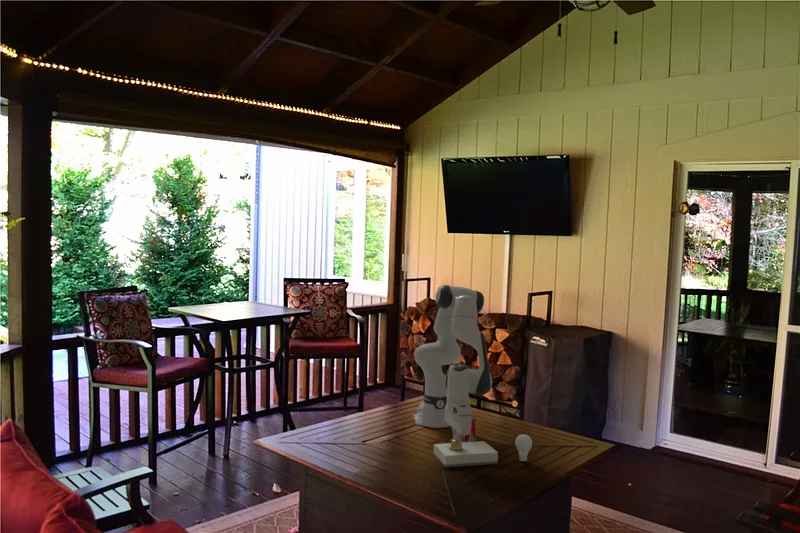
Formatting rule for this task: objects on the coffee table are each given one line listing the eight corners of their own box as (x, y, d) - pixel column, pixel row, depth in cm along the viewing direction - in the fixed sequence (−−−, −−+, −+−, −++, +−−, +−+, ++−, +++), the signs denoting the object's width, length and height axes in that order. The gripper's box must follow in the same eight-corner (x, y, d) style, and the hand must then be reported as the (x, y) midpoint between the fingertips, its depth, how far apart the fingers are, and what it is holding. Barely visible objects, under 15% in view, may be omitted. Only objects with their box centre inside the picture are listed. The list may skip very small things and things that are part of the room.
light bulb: (511, 459, 254) (512, 432, 253) (525, 458, 256) (526, 431, 256) (520, 465, 247) (521, 437, 247) (534, 463, 250) (535, 436, 250)
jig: (433, 455, 256) (433, 444, 256) (483, 451, 262) (483, 441, 262) (445, 467, 243) (445, 455, 243) (497, 463, 249) (498, 452, 249)
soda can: (475, 447, 267) (476, 419, 266) (458, 446, 268) (459, 418, 268) (476, 442, 274) (477, 415, 273) (460, 441, 275) (461, 414, 275)
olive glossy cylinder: (448, 455, 253) (449, 438, 253) (458, 454, 254) (458, 437, 254) (453, 459, 249) (453, 442, 248) (463, 458, 250) (463, 441, 250)
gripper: (441, 398, 260) (440, 431, 260) (459, 412, 240) (458, 448, 241) (455, 398, 261) (454, 431, 262) (474, 411, 242) (473, 447, 242)
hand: (456, 439), depth 251 cm, fingers closed
